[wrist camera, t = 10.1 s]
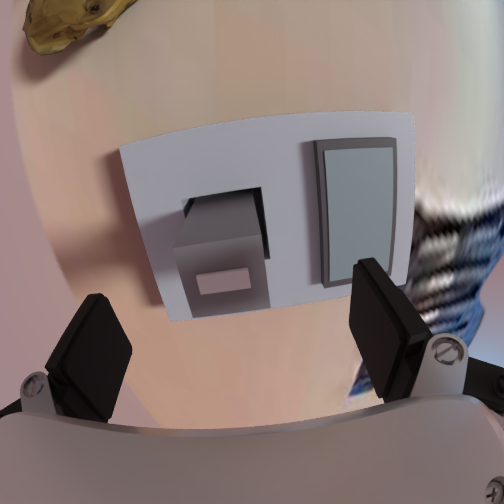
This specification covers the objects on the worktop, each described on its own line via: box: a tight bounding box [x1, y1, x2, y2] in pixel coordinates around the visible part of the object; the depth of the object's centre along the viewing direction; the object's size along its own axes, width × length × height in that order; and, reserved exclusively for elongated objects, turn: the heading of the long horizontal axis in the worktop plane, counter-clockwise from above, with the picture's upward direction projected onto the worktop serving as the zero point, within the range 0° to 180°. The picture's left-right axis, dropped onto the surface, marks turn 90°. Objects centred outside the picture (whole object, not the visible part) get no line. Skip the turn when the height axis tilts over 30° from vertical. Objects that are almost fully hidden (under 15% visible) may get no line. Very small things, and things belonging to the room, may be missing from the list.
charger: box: [172, 188, 271, 318], centre depth 17 cm, size 4×4×9 cm
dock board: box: [119, 111, 415, 322], centre depth 20 cm, size 20×14×4 cm
